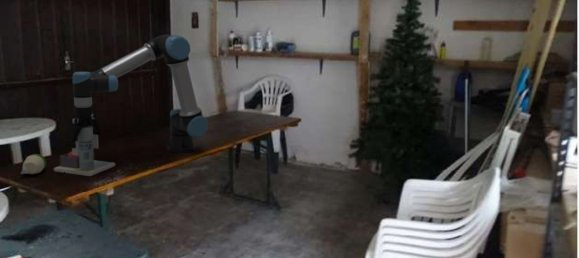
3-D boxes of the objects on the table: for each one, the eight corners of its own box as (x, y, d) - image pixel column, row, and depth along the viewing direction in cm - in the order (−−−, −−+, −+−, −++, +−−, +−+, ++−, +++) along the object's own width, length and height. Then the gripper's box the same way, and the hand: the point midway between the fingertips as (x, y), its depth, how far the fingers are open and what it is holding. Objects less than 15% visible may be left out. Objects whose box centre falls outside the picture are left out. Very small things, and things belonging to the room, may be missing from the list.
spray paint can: (78, 170, 225) (76, 128, 221) (80, 166, 231) (78, 125, 227) (93, 170, 227) (91, 128, 222) (95, 166, 233) (93, 125, 229)
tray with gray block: (114, 165, 240) (114, 153, 239) (90, 176, 223) (89, 162, 222) (80, 161, 246) (80, 148, 244) (54, 171, 229) (53, 157, 228)
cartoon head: (21, 185, 217) (39, 170, 236) (39, 174, 217) (55, 160, 236) (9, 169, 215) (27, 155, 234) (27, 158, 214) (44, 145, 234)
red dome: (86, 163, 237) (86, 149, 235) (76, 167, 230) (75, 153, 229) (74, 162, 239) (73, 148, 237) (64, 166, 232) (63, 151, 231)
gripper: (94, 101, 235) (96, 144, 240) (56, 109, 212) (59, 157, 217) (107, 102, 233) (109, 146, 238) (70, 111, 210) (73, 158, 214)
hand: (85, 151), depth 227 cm, fingers open, 13 cm apart
